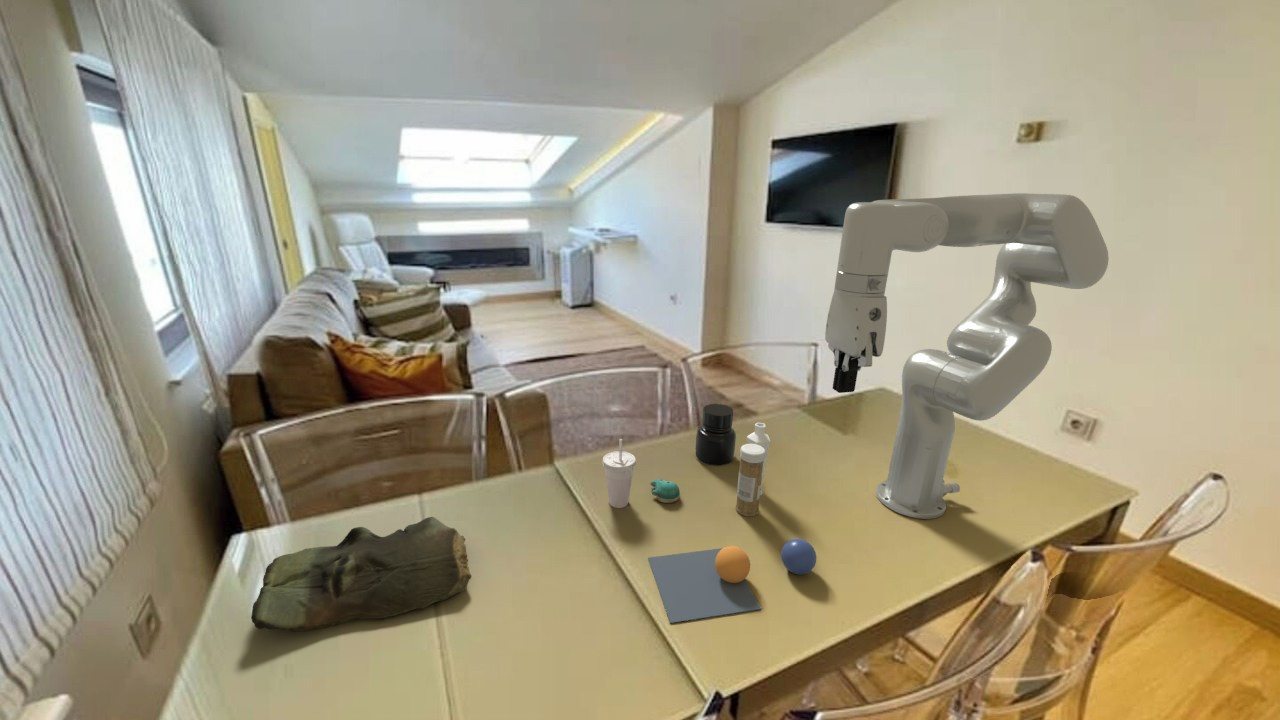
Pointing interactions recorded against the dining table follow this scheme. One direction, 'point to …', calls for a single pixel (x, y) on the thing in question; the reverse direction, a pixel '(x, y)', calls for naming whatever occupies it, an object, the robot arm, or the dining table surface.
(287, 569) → the stone head
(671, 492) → the whale figurine
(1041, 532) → the dining table surface
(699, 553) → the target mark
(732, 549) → the orange ball
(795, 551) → the blue ball
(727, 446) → the ink bottle
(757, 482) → the sprinkles bottle
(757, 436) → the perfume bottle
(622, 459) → the smoothie
